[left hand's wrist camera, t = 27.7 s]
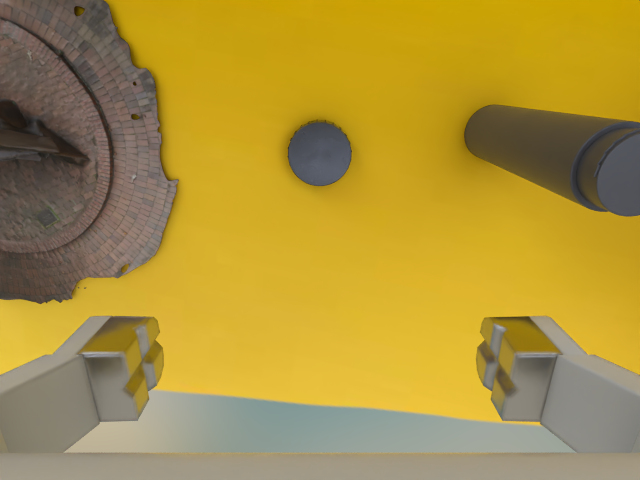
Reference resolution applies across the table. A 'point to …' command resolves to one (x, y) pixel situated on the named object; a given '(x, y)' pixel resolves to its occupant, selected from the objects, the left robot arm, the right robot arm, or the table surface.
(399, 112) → the table surface
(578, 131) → the dark grey cylinder
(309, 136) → the lid
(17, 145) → the sculpture
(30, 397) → the left robot arm
